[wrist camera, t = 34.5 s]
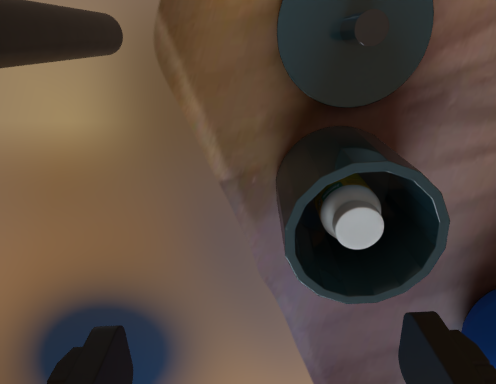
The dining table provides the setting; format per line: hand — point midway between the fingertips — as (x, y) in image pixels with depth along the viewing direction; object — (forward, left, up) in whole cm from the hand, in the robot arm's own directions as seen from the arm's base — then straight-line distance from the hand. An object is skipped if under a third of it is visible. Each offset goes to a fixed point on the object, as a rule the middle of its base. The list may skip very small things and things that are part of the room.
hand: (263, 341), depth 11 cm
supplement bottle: (+8, -7, -28) cm, 30 cm away
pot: (+8, -7, -28) cm, 30 cm away
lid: (+9, +8, -28) cm, 30 cm away
